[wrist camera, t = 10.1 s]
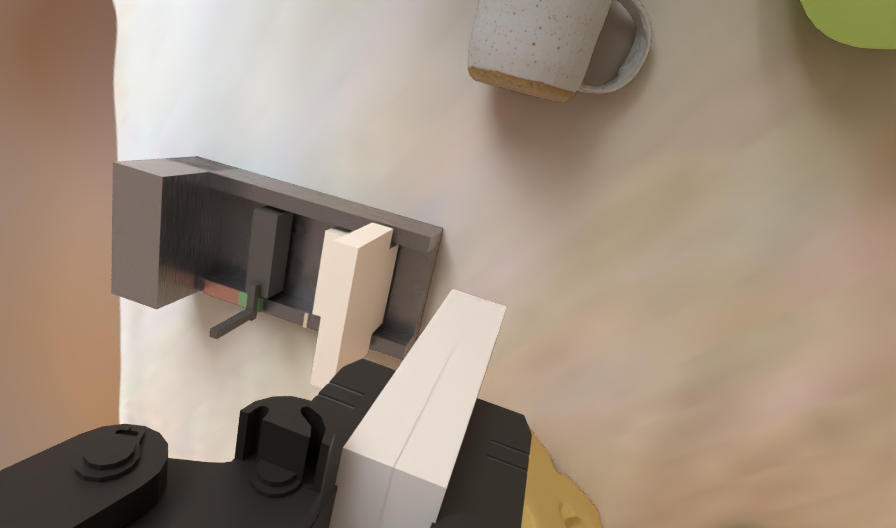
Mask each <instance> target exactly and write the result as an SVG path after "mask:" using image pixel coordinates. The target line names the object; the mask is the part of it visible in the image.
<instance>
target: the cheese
mask: <svg viewBox="0 0 896 528" xmlns="http://www.w3.org/2000/svg"><path fill="white" fill-rule="evenodd" d="M529 429H530V428H529ZM530 431H531V429H530ZM531 433H532V440H531V448H530V455H529V465H528V471H527V482H526V490H525V499H524V507H523V516H522V524H521V528H602V526H601V520H600V514H599V510H598V509H597V507H596V506H595V505H594V504H593V503H592V502H591V501H590V500H589V498H588V497H587V496H586V495H585V494H584V493H583V492H582V491H581V490H580V489H579V487H578V486H577V485H576V484H575V483H574V482H573V481H572V480H571V479H570V478H569V477H567V476H565V475H563V474H559V473H558V472H557V471H556V469H555V468H554V466H553V464H552V461H551V456H550V454H549V453H548V452H547V450H546V449H545V448H544V446H543V445H542V444H541V443H540V442H539V440H538V439H537V437H536V436H535V435H534V433H533V432H532V431H531Z"/></svg>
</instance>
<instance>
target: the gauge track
mask: <svg viewBox="0 0 896 528" xmlns="http://www.w3.org/2000/svg"><path fill="white" fill-rule="evenodd" d="M267 205H269V206H272V207H276V208H279V209H282V210H286V211H289V212H292V213H293V220H292V227H291V235H290V242H289V249H288V257H287V264H286V272H285V279H284V286H283V290H282V291H280V292H279V293H277V294H275V295H273V296H271V297H270V298H268V299H267V298H264V297H261V296H259V299H258V307H257V312H261V311H262V312H265V313H268V314H271V315H273V316H276V317H279V318H282V319H285V320H288V321H291V322H294V323H297V324H300V325H303V327H304V328H307V327H309V328H311V329H314V330H317V331H319V326H320V319H321V317H320V316H317V315H314V314H312V312H313V306H314V300H315V293H316V287H317V281H318V274H319V268H320V262H321V255H322V249H323V243H324V236H325V231H326V230H328V229H331V228H333V227H336V226H339V227H342V228H345V229H349V230H352V231H355V230H357V229H359V228H362V227H364V226H366V225H368V224H370V223H376V224H379V225H382V226H386V227H389V228H393V233H392V238H391V242H392V243H395V244H398V245H399V247H398V251H397V256H396V261H395V266H394V270H393V275H392V280H391V285H390V289H389V294H388V299H387V304H386V308H385V313H384V318H383V323H382V324H381V325H380V326H379V327H378V328H377V329H376V330H375V331H374V332H373V333H372V336H371V341H370V346H369V348H370V349H373V350H376V351H379V352H382V353H385V354H387V355H390V356H393V357H396V358H399V359H402V360H403V359H404V357H405V356H406V354H407V353H408V352H409V350H410V349H411V348H412V346H413V345H414V343H415V342H416V340H417V335H418V331H419V327H420V323H421V319H422V314H423V310H424V306H425V302H426V298H427V293H428V289H429V285H430V281H431V277H432V273H433V268H434V264H435V260H436V256H437V252H438V247H439V243H440V239H441V235H442V231H443V228H441V227H437V226H434V225H431V224H427V223H424V222H420V221H417V220H413V219H410V218H407V217H403V216H400V215H396V214H393V213H389V212H386V211H383V210H379V209H376V208H372V207H369V206H365V205H362V204H359V203H355V202H352V201H348V200H345V199H342V198H338V197H335V196H331V195H328V194H324V193H321V192H318V191H314V190H311V189H307V188H304V187H300V186H297V185H294V184H290V183H287V182H283V181H280V180H276V179H273V178H270V177H266V176H263V175H259V174H256V173H252V172H249V171H246V170H242V169H239V168H235V167H232V166H228V165H225V164H222V163H218V162H215V161H211V160H208V159H204V158H201V157H198V156H196V157H181V158H165V159H150V160H134V161H119V162H113V216H112V294H115V295H118V296H121V297H123V298H126V299H129V300H132V301H135V302H138V303H140V304H143V305H146V306H149V307H152V308H154V309H159V308H161V307H163V306H165V305H168V304H170V303H172V302H175V301H177V300H179V299H182V298H184V297H186V296H189V295H191V294H193V293H196V292H198V291H203V292H204V293H205V294H208V295H210V296H213V297H216V298H219V299H222V300H225V301H228V302H231V303H234V304H237V305H240V306H243V307H245V308H246V304H247V294H248V292H246V291H245V287H246V277H247V268H248V259H249V249H250V240H251V231H252V222H253V212H254V209H255V208H259V207H263V206H267Z"/></svg>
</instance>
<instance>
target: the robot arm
mask: <svg viewBox="0 0 896 528" xmlns="http://www.w3.org/2000/svg"><path fill="white" fill-rule="evenodd" d="M506 308H507V307H506V306H503V305H500V304H496V303H493V302H490V301H487V300H484V299H481V298H478V297H475V296H472V295H469V294H466V293H463V292H460V291H457V290H454V289H452V290H451V292H450V293H449V295H448V296H447V297H446V299H445V300H444V302H443V303H442V305H441V306H440V308H439V309H438V310H437V312H436V313H435V315H434V316H433V318H432V319H431V321H430V322H429V324H428V325H427V326H426V328H425V329H424V331H423V332H422V334H421V335H420V337H419V338H418V340H417V341H416V342H415V344H414V345H413V347H412V348H411V350H410V351H409V353H408V354H407V356H406V357H405V358H404V360H403V361H402V363H401V364H400V366H399V367H398V369H397V370H393V369H390V368H387V367H385V366H382V365H379V364H376V363H374V362H371V361H368V360H365V359H363V358H362V359H360V360H357V361H355V362H353V363H350V364H348V365H346V366H344V367H342V368H341V369H340V370H339V371H338V372H337V374H336V375H335V376H334V377H333V378H332V379H331V380H330V382H329V384H326V386H325V387H324V388H323V389H322V390H321V391H320V392H319V394H318V396H315V398H314V399H313V400H312V401H310V400H306V399H301V398H297V397H293V396H278V397H270V398H266V399H262V400H258V401H255V402H253V403H252V404H250V405H248V406H247V407H245V408H243V409H242V410H240V417H239V425H238V434H237V442H236V451H235V458H234V459H233V460H232V461H231V462H225V463H214V462H200V461H191V460H182V459H172V458H168V443H167V442H166V441H165V439H164V438H163V437H162V435H161V434H160V433H159V432H156V431H154V430H152V429H150V428H148V427H146V426H139V425H131V424H120V425H111V426H104V427H100V428H97V429H94V430H91V431H88V432H85V433H82V434H79V435H77V436H75V437H73V438H71V439H68V440H66V441H64V442H62V443H60V444H58V445H55V446H53V447H51V448H49V449H47V450H45V451H42V452H40V453H38V454H36V455H33V456H31V457H29V458H27V459H25V460H23V461H20V462H18V463H16V464H14V465H12V466H10V467H7V468H5V469H3V470H1V471H0V528H521V524H522V516H523V507H524V499H525V490H526V482H527V471H528V465H529V455H530V448H531V440H532V433H531V431H530V429H529V426H528V424H527V421H526V419H525V417H524V415H522V414H519V413H516V412H514V411H511V410H508V409H505V408H503V407H500V406H497V405H494V404H492V403H489V402H486V401H483V400H481V399H478V395H479V392H480V389H481V386H482V383H483V379H484V376H485V373H486V370H487V367H488V364H489V361H490V358H491V355H492V351H493V348H494V345H495V342H496V339H497V336H498V333H499V330H500V326H501V323H502V320H503V317H504V314H505V311H506Z"/></svg>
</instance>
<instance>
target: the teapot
mask: <svg viewBox="0 0 896 528" xmlns="http://www.w3.org/2000/svg"><path fill="white" fill-rule="evenodd" d="M800 2H801V4H802V6H803V8H804V10H805V12H806V14H807V16H808V17H809V19H810V20H811V21H812V23H813V24H814V25H815V27H816V28H817V29H819V30H820V31H821V32H822V33H824V34H825V35H826V36H828V37H830V38H831V39H833V40H835V41H837V42H840V43H843V44H847V45H850V46H854V47H858V48H871V49H896V0H800Z"/></svg>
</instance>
